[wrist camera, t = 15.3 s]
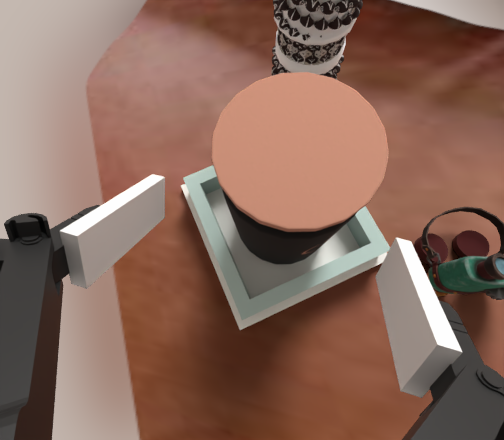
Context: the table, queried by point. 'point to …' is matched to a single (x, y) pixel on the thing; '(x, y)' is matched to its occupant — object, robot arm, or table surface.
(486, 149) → the table surface
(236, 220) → the coffee jar
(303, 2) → the decorative candle
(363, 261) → the pocket tray
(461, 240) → the binoculars
